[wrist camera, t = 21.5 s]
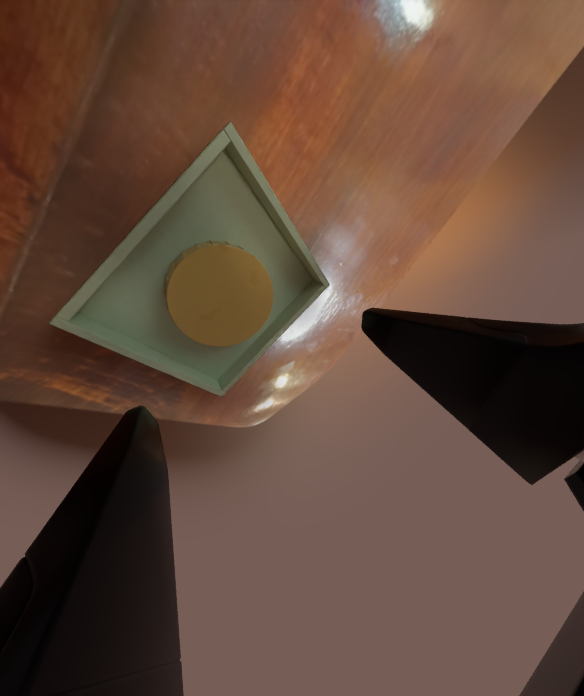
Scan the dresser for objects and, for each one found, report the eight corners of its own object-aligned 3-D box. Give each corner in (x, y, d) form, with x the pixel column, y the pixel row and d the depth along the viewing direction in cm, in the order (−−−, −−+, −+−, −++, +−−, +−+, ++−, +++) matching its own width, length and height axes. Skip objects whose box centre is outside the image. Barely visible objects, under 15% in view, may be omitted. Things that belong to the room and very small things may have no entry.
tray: (216, 383, 19) (221, 397, 18) (60, 309, 12) (48, 323, 10) (317, 278, 19) (330, 284, 17) (221, 130, 11) (230, 120, 10)
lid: (253, 229, 14) (263, 232, 13) (272, 319, 18) (281, 327, 17) (140, 255, 12) (139, 261, 11) (191, 349, 16) (194, 361, 15)
